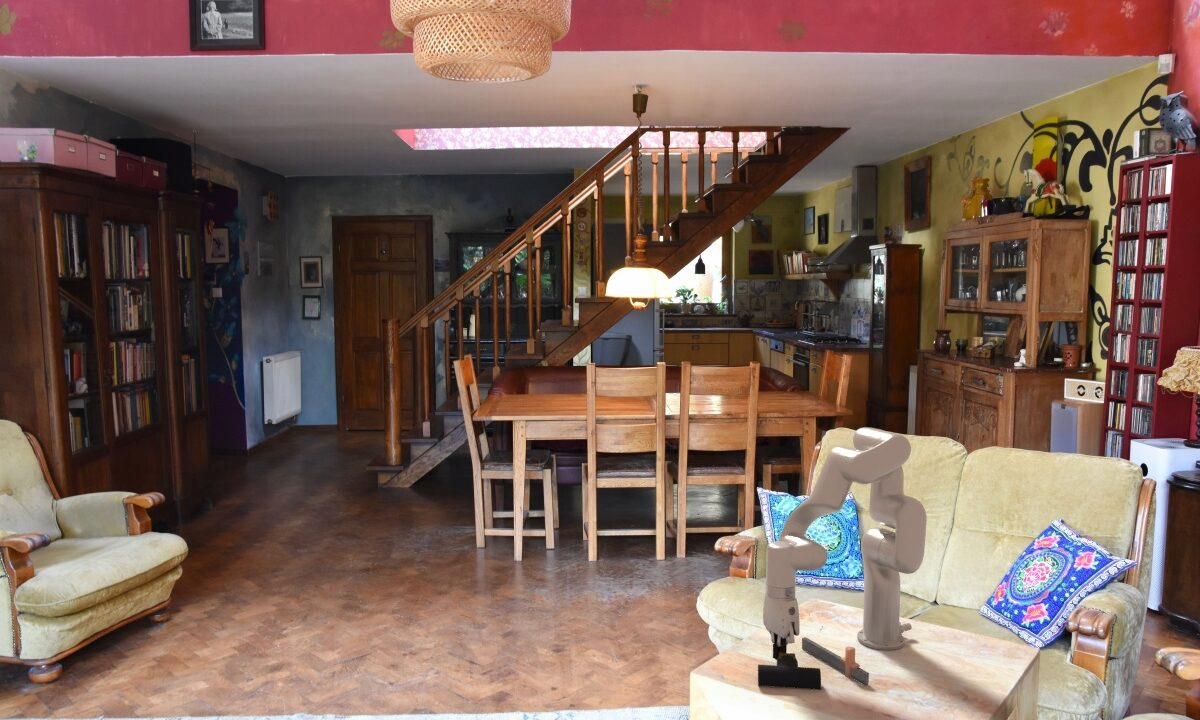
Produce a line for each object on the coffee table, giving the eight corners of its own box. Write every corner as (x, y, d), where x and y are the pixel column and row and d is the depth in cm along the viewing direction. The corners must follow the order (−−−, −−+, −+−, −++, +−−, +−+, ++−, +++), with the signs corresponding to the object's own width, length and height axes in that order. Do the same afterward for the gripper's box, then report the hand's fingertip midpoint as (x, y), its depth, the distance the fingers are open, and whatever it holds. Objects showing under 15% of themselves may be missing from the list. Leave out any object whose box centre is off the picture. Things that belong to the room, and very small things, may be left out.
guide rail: (807, 647, 233) (807, 622, 232) (870, 684, 211) (871, 656, 211) (800, 648, 232) (800, 624, 231) (863, 686, 210) (863, 658, 210)
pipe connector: (757, 648, 221) (816, 652, 218) (757, 668, 221) (816, 672, 219) (758, 669, 209) (821, 673, 207) (758, 690, 210) (820, 694, 208)
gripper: (810, 597, 215) (809, 667, 217) (774, 579, 229) (773, 644, 231) (786, 602, 212) (785, 673, 214) (751, 583, 226) (750, 650, 227)
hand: (779, 658), depth 222 cm, fingers closed
